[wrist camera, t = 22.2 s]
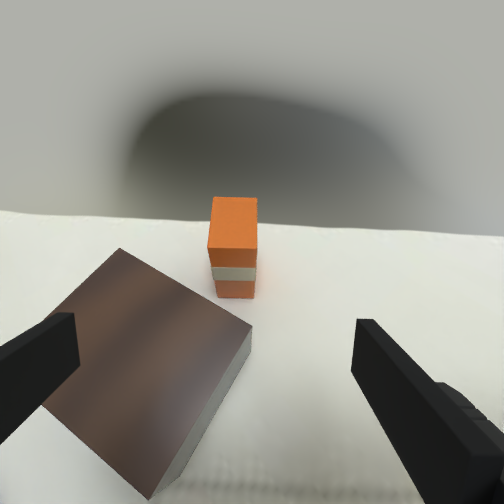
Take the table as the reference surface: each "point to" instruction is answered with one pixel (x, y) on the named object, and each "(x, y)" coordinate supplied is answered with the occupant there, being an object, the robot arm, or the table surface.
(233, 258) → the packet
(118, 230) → the table surface
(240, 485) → the table surface
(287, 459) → the table surface
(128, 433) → the small wooden table
